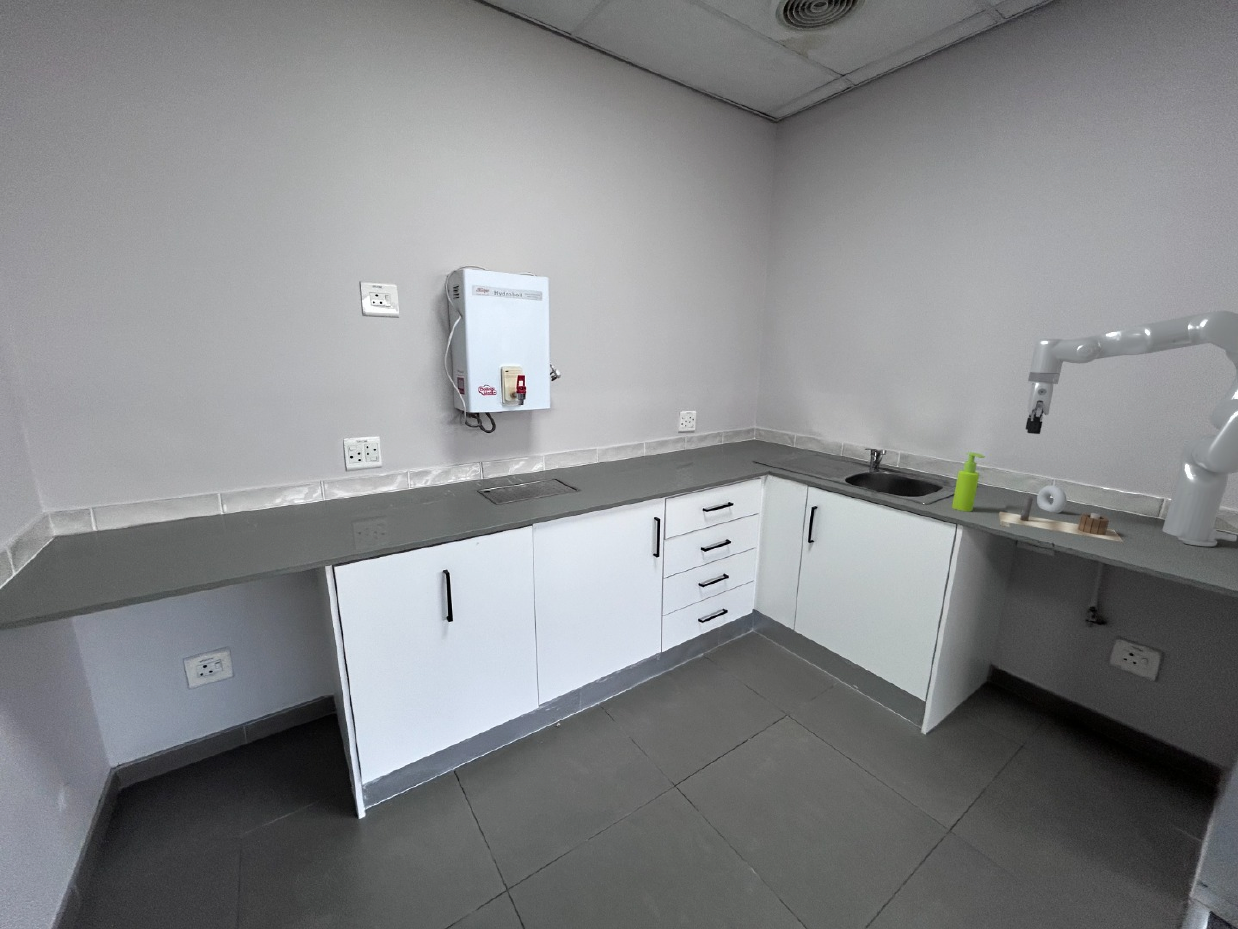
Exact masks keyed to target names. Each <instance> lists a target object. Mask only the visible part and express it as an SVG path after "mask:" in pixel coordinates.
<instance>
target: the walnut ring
mask: <svg viewBox="0 0 1238 929" xmlns="http://www.w3.org/2000/svg"><path fill="white" fill-rule="evenodd" d="M1090 517H1091V513H1082V514H1081V515H1080V519H1079V522H1078V524H1079V526H1078V530H1080V531H1082V532H1086V533H1090V534H1095V535H1105V534H1106V531H1107V529H1108V527H1109V524H1110V523H1109V522H1110V519H1109V517H1105V516H1101V515H1100V519H1095V518H1090Z"/></svg>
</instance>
